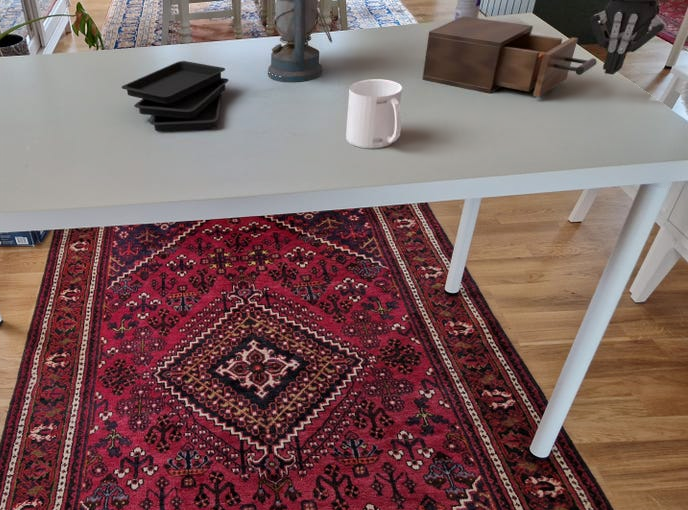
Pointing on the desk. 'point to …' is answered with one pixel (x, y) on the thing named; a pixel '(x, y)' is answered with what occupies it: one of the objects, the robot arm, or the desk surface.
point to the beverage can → (467, 8)
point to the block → (538, 64)
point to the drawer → (521, 63)
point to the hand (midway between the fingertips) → (610, 72)
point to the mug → (374, 113)
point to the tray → (180, 96)
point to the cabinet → (469, 52)
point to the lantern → (296, 41)
